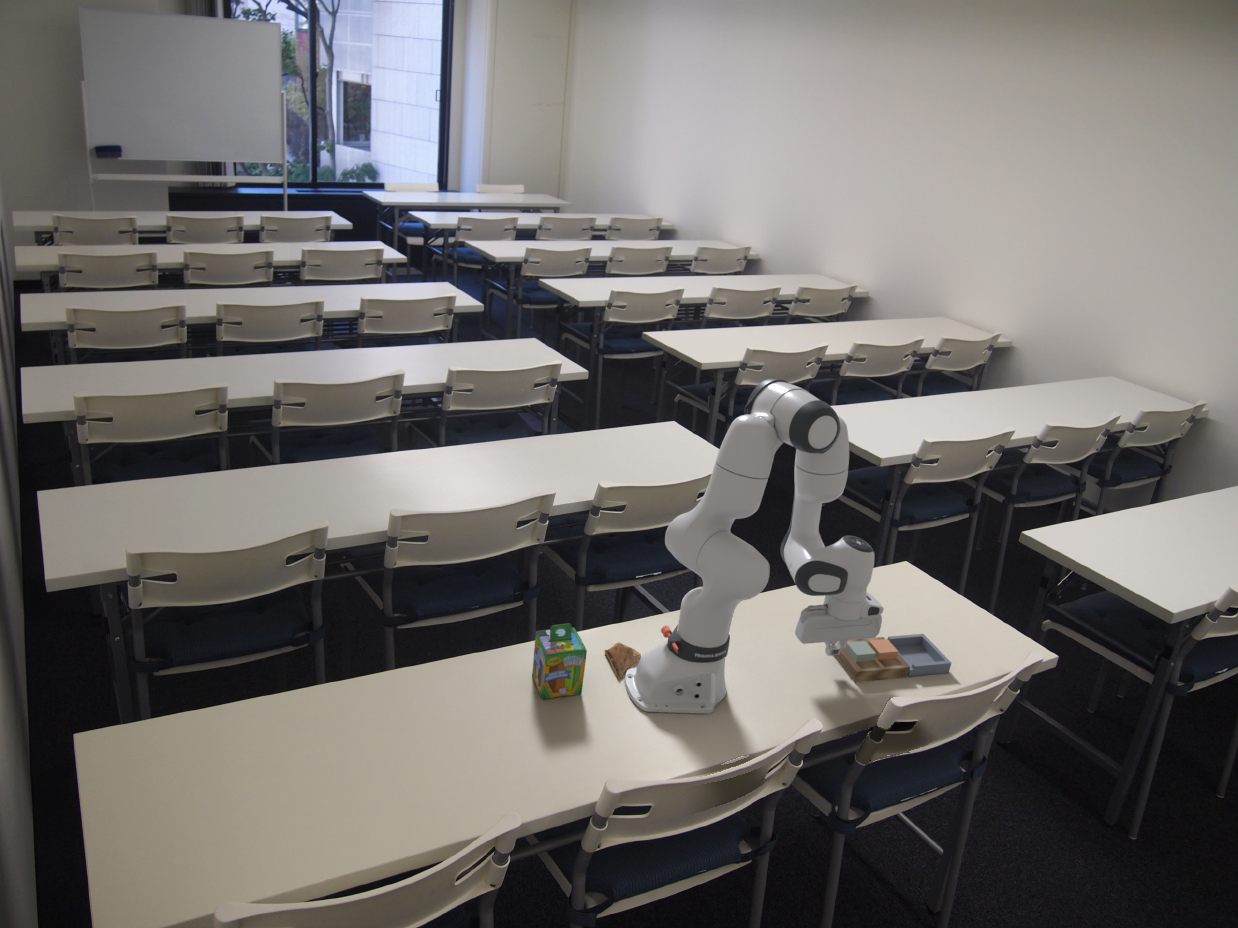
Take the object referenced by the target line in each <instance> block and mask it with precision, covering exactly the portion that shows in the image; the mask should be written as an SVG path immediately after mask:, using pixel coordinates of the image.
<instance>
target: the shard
mask: <svg viewBox="0 0 1238 928" xmlns="http://www.w3.org/2000/svg"><path fill="white" fill-rule="evenodd" d="M604 654H605V656H606V657H607V659H608V660H609V662H610V665H611V667H612V670H613V673H614V674H615V676H616V677H617V678H618V679H619V680H620V679H621V677H622V676H623V675H624V674H625V673H626V672H627V670H628V669H630V668H631V666H632V665H633V664H634V663H635V662H637V661H638V660H640V658H641V657H642V654H641V653H640V652H639V651H637V650H636V649H635V648H633V647H629V646H628V645H626V644H623V643H622V642H616V643H615V644H613V645H612V646H611V647H610V648H608V649H605V650H604Z"/></svg>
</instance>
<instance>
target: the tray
mask: <svg viewBox="0 0 1238 928" xmlns="http://www.w3.org/2000/svg"><path fill="white" fill-rule="evenodd" d="M887 639H888V640H889V641H890V642H891V644H892V645H893V646H894V647H895V648H896V649H897V650H898V654H899V655H900V656H901V657H902V658H903V659H904V661H905V662H906V663H907V664H908V665H909V666H910V669H909V673H908V676H907V678H914V677H916V678H917V677H925V676H933V675H937V676H938V675H946V674H949V672H950V670H951V666H952V662H951V661H950V660H949V658H947V657H946V655H945V654H944V653H943V652H942V651H940V649H939V648H938V646H936V645H935V644H934V643H933V642H932V641H931V640H930V639H929V638H928V637H927V636H926V635H925V634H924V633H915V634H913V633H912V634H905V635H904V634H903V635H894V636H893V635H891V636H889V635H888V637H887Z"/></svg>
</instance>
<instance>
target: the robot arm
mask: <svg viewBox="0 0 1238 928" xmlns="http://www.w3.org/2000/svg"><path fill="white" fill-rule="evenodd" d="M743 412H744V414H743V415H742V414H741V415H739V416H738V417H736V418H734V420H733V421H732V422H731V424H730V426H729V428H728V429H727V432H726V433H725V436H724V437H723V440H722V441H721V445H720V447H719V450H718V453H717V456H716V459H715V463H714V466H713V469H712V471H711V472H712V473H711V475H710V477H709V481H708V484H707V487H706V490H705V492H704V494H703V497H701V500H699V502H698V503H697V505H696V506H694V508H693V509H691V510H690V511H687V512H684V513H682V514H679V515H678V516H676V517H675V518H674V519H673V520H672V521H671V522H670V523H669V524H668V526H667V529H666V531H665V536H664V544H665V547H666V549H667V550H668V551H669V552H670V554H671V555H672V556H673V557H674V558H675V559H676V561H678V563H680V564H682V565H683V566H685V567H686V568H687V569H689V570H690V571H692V572H694V573H695V574H696V575H698V576H699V577H701V580H702V586H698V587H695V588H693V589H691V590H690V591H688V592H687V593H686V594H685V595H684V596H683V598H682V600H681V603H680V604H681V605H680V610H679V616H678V624H677V625H676V626H675V628H674V630H672V629H671V628H670V626H669V625H663V626H662V627H661V629H660V633H662V635H663V637H664V638H666V639H667V640H665V641H664V642H663V643H661V644H659V645H658V646H656V647H654V648H652V649H650V650H649V651H647V652H645V653H643V654H641V656H640V657H639V659H638V663H637V666H634V667H630V668H628V669H627V670H626V671H625V676H624V686H625V689H626V691H627V694H628V696H629V697H630V699H631V701H632V703H634V704H635V706H637V707H638V708H639V709H641V710H642V711H644V712H649V713H672V714H673V713H677V714H678V713H679V714H680V713H681V714H682V713H683V714H707V715H708V714H712V713H713V712H714V710H715V709H716V708H715V707H716V705H717V704H718V703H720V702H721V701H722V700H723V699H724V698H725V696H726V694H727V687H726V686H727V685H726V680H725V679H726V678H725V674H726V673H725V670H726V669H725V667H726V666H725V664H726V657H727V656H728V654H729V647H730V640H731V636H730V629H731V625H732V620H733V616H734V613H735V610H736V608H737V607H738V605H739V604H740V603H741V602H743V601H746V600H751V599H753V598H755V597H756V596H758V595H759V594H761V592H762V591H764V589H765V588H766V586H767V584H768V582H769V578H770V575H771V574H770V572H771V571H770V570H771V568H770V563H769V561H768V560H767V559H766V557H765V556H763V555H762V554H761V553H760V552H759V551H758V550H757V549H756V548H755V547H754V546H753V545H751V544H749V543H748V542H746V541H745V540H743V539H741V538H740V537H738V536H737V535H735V534H733V533H732V532H731V528H732V525H733V524H734V522H735V520H737V519H738V520H741V519H745V518H746V519H747V518H749V517H751V516H752V515H754V514H755V513H756V512H757V511H758V510H759V508H760V506H761V503H762V499H763V496H764V493H765V490H766V486H767V485H768V484H767V483H768V479H769V478H770V474H771V470H772V465H773V462H774V458H775V454H776V452H777V451H778V450H779V448H780V447H781V446H782V445H783V444H787V445H788V446H790V447H794V448H795V457H794V458H795V460H794V494H793V502H792V503H793V504H792V509H791V511H792V512H791V519H790V524H789V527H788V529H787V531H786V533H785V535H784V537H783V539H782V541H781V543H780V547H779V548H780V549H779V550H780V556H781V558H782V560H783V562H784V563H785V565H786V567H787V569H788V571H789V574H790V576H791V578H792V580H793V581H794V584H795V586H796V588H797V589H798V591H800V592H801V593H802V594H805V595H808V596H811V597H819V596H821V597H823V596H825V597H824V600H823V604H817V605H813V604H812V605H811V604H810V605H807V607H805V608H804V609H802V610H801V612H800V615H799V618H798V621H797V623H796V627H795V631H794V634H795V637H796V638H797V639H798V640H799V642H800V643H801V644H803V645H805V644H806V645H809V644H816V643H817V644H818V643H824V644H825V648H824V649H825V650H824V653H825V654H826V655H827V656H828V657H829V656H830V657H831V656H833V655H839V654H840V651H841V649H842V648H843V647H844V646H845V645H846V644H847V641H848V640H855V639H867V638H877V636H878V635H879V634H880V631H881V628H882V622H883V621H882V620H883V617H882V614H883V612H884V607H883V606H882V604H881V603H880V601H878V600H877V599H876V598H875V597H874V595H872V594H871V593H870V592H867V588H868V586H870V585H869V584H870V583H871V580H872V576H873V573H874V572H873V571H874V565H875V551H874V549H873V548H872V545H870V544H869V543H868V541H866V540H864V539H863V538H861V537H858V536H854V535H844V536H842V537H841V538H840V539H839V540H838V541H836V542H834V543H833V544H830V545H827V546H825V543H824V541H823V538H822V536H821V534H820V532H819V531H820V529H819V527H820V526H819V525H820V520H821V512H822V506H823V504H826V503H831V502H833V501H835V500H837V499H839V497H841V495H842V494H844V490H845V488H846V484H847V481H848V474H849V473H848V472H849V465H850V464H849V462H850V461H849V460H850V444H849V443H850V441H849V431H848V430H849V429H848V426H847V423H846V422H845V420H844V419H843V418H842V417H840V415H838V414H837V412H836V411H835V410H834V408H833V407H832V406H830V404H829V403H827V402H825V401H824V400H821V399H820V398H818V397H816V396H815V395H813V394H812V393H811V392H809V391H808V390H806V389H804V388H802V387H800V386H797V385H795V384H791V383H789V382H788V381H787V380H783V379H778V378H768V379H764V380H762V381H761V382H759V384H757V385H756V386H755V388H754V389H753V390H752V392H751V393H750V395H749V397H748V400H747V403H746V404H745V406H744V411H743ZM833 641H837V643H836V644H835V645H832V644H833Z"/></svg>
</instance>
